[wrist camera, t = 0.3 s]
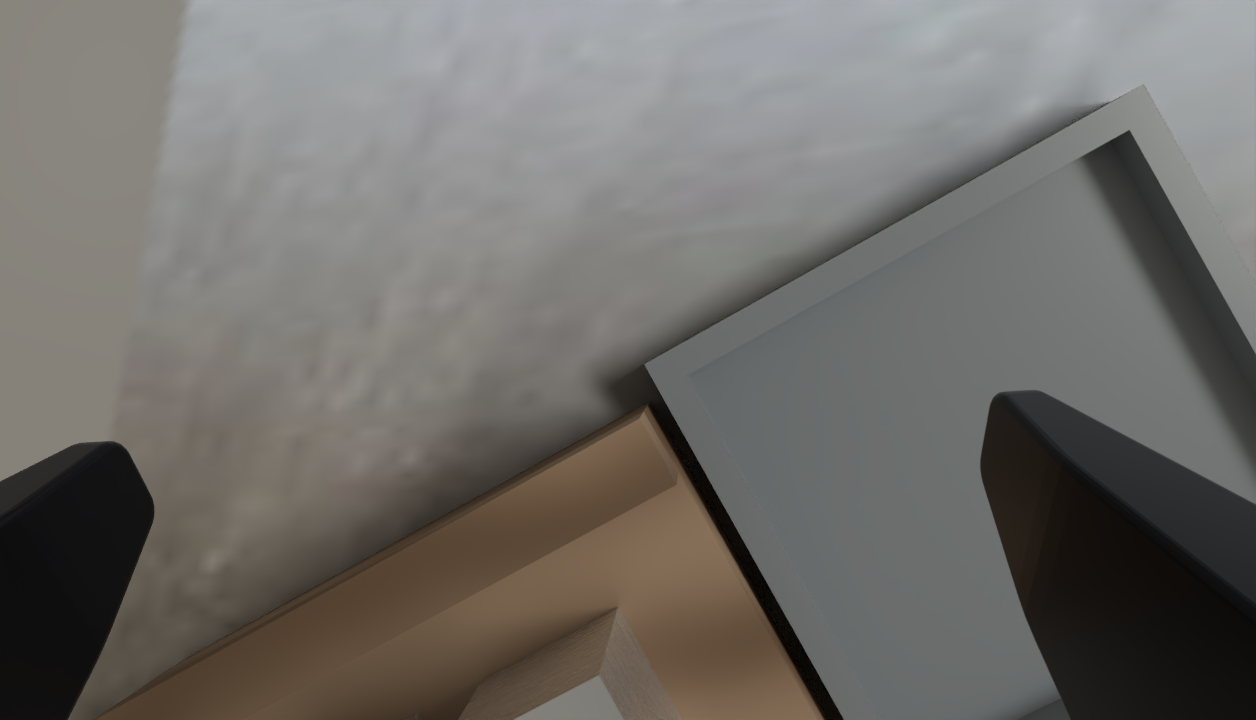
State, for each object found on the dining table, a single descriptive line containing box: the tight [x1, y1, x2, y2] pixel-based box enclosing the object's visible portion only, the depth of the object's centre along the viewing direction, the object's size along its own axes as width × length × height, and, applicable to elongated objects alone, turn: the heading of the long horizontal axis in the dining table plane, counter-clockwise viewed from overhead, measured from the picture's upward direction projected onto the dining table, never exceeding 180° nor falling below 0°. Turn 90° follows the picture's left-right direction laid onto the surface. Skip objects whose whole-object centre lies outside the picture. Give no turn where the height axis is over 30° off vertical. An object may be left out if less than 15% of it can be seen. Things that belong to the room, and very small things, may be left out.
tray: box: [644, 84, 1256, 720], centre depth 21 cm, size 14×14×2 cm
